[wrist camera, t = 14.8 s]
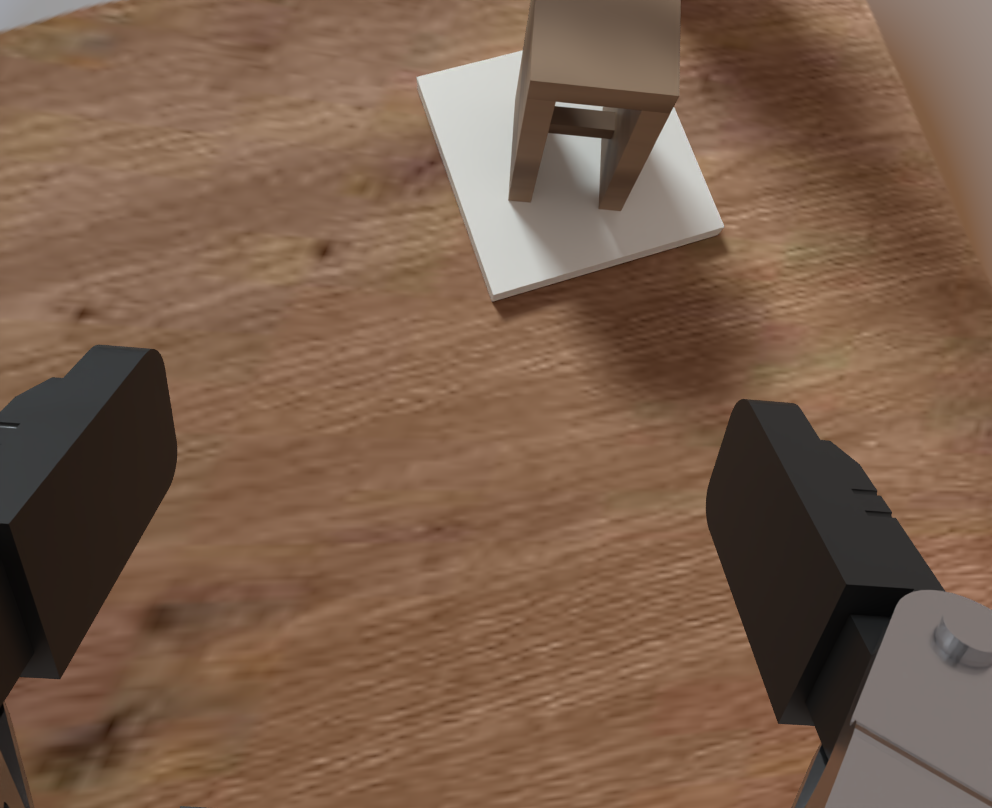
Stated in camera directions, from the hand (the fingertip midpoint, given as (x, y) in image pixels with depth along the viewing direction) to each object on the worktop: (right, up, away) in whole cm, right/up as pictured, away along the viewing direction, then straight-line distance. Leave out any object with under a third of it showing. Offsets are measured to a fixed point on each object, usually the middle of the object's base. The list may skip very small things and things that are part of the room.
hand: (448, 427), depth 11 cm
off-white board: (+5, +14, +31) cm, 34 cm away
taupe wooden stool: (+5, +14, +30) cm, 33 cm away
